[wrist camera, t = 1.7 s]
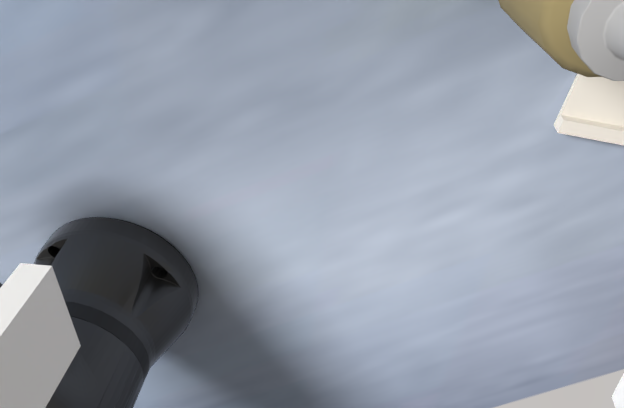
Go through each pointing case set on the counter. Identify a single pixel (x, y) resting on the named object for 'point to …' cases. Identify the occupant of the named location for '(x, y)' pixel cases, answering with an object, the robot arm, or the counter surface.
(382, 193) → the counter surface
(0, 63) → the counter surface
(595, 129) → the tray
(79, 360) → the robot arm
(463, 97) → the counter surface
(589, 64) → the squeeze bottle
